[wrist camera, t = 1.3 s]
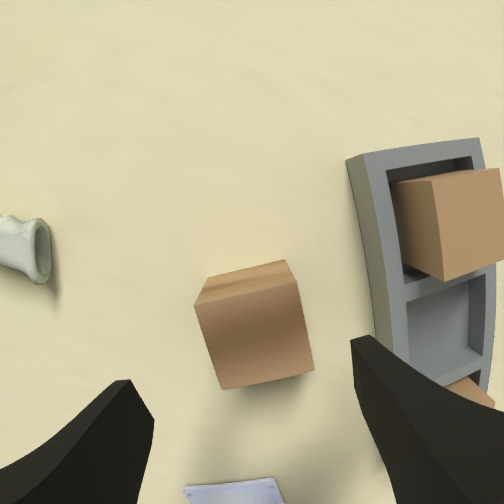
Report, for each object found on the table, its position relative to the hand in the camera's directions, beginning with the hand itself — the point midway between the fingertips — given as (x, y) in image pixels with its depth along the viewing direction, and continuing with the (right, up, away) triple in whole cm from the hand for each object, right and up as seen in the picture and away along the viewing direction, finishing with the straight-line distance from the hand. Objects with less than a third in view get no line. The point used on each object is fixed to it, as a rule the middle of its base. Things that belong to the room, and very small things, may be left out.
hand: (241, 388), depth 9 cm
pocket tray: (+12, 0, +10) cm, 15 cm away
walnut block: (+1, +1, +9) cm, 10 cm away
